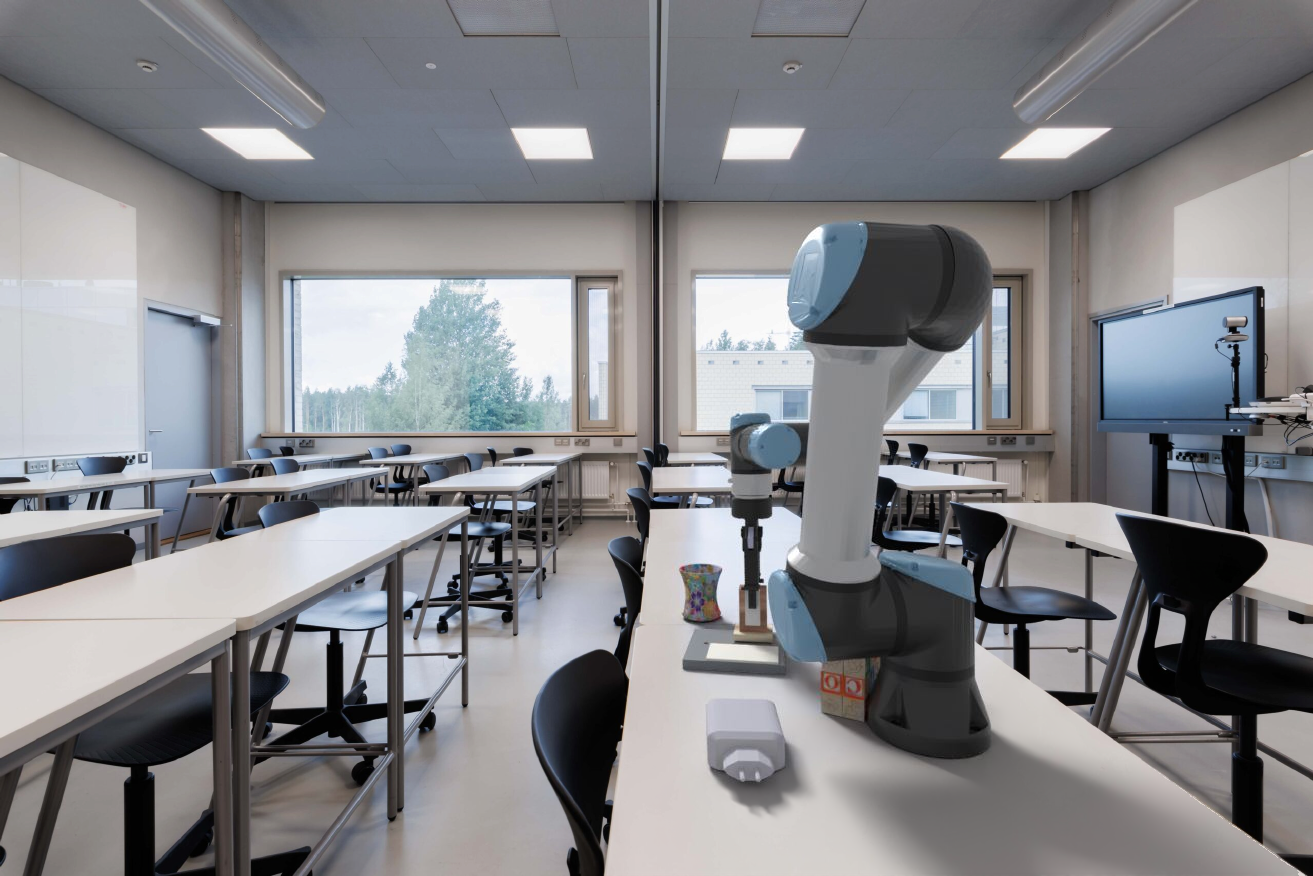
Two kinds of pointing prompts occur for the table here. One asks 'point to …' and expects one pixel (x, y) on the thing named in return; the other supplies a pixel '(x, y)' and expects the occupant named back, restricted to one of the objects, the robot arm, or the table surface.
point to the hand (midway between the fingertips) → (753, 621)
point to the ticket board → (733, 653)
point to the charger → (744, 738)
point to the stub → (753, 632)
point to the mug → (701, 591)
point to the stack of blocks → (848, 687)
